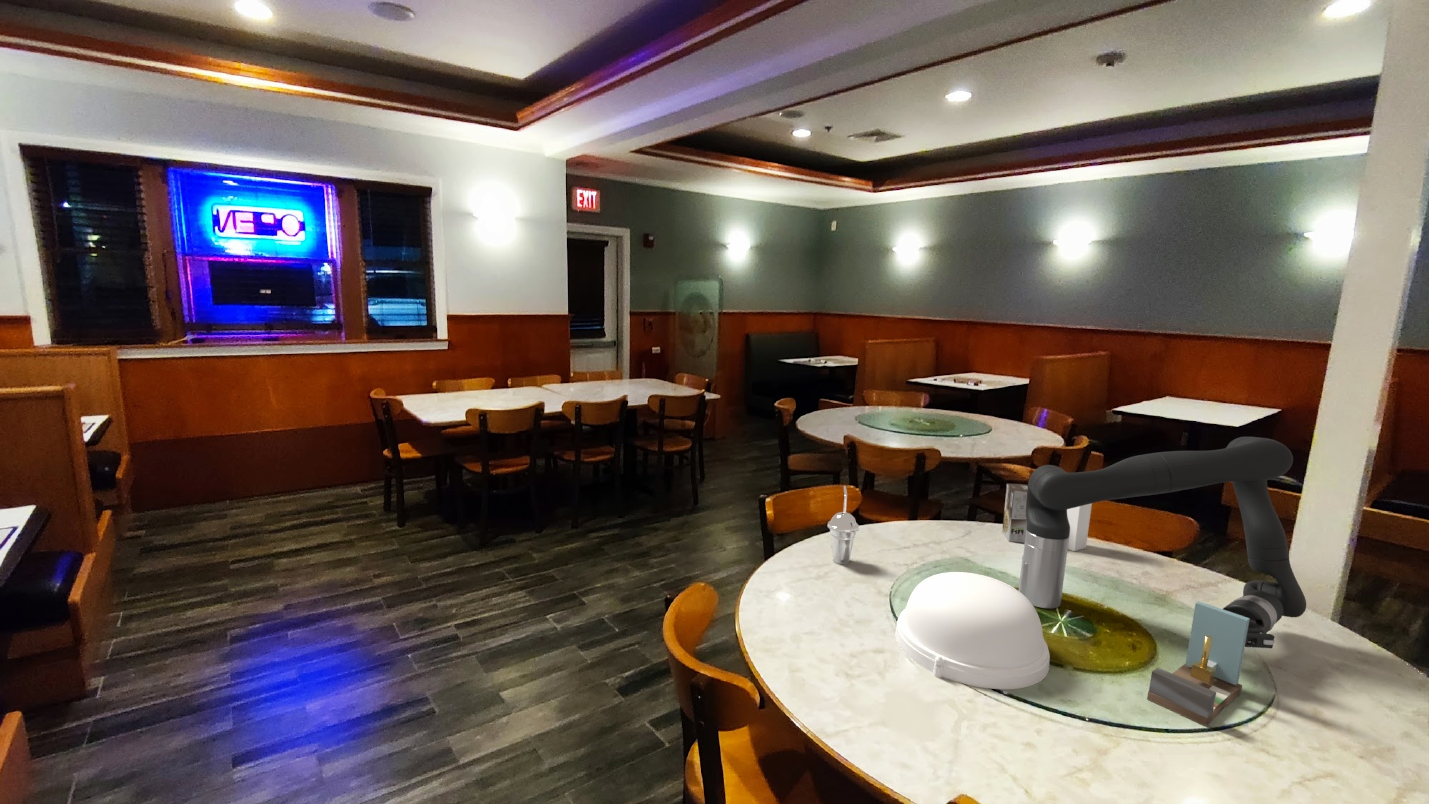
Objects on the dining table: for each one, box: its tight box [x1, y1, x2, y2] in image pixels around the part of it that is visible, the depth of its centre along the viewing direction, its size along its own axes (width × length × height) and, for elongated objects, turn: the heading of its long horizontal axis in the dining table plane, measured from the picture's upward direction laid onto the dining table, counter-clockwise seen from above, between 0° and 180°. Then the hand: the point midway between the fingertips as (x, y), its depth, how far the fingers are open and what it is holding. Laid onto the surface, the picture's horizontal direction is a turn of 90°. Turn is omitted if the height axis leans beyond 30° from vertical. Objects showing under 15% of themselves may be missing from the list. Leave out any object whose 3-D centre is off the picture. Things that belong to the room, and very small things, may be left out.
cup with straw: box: [826, 485, 860, 565], centre depth 175 cm, size 8×9×20 cm
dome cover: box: [894, 571, 1051, 690], centre depth 133 cm, size 32×30×14 cm
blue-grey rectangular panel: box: [1185, 601, 1250, 685], centre depth 122 cm, size 4×8×13 cm, turn 35°
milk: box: [1067, 503, 1093, 552], centre depth 191 cm, size 6×6×22 cm
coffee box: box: [1001, 483, 1028, 544], centre depth 198 cm, size 9×6×16 cm
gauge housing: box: [1146, 662, 1243, 727], centre depth 119 cm, size 18×9×6 cm, turn 125°
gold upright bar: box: [1190, 635, 1215, 684], centre depth 120 cm, size 2×3×8 cm, turn 35°
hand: (1218, 640), depth 123 cm, fingers closed
